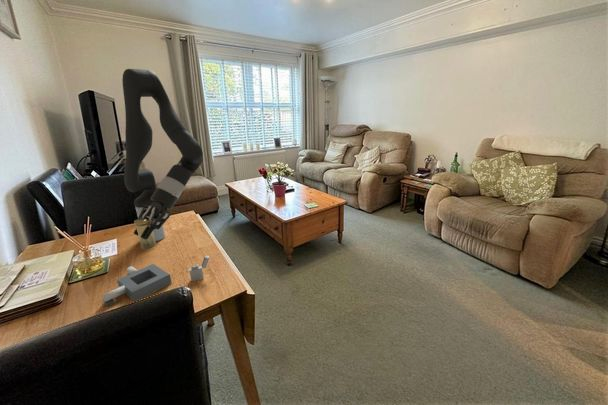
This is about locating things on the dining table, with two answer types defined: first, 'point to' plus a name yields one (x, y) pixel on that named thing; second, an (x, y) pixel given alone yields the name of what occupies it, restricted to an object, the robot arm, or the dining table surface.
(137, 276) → the shaft housing
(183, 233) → the dining table surface
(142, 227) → the gold cylindrical piece
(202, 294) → the dining table surface
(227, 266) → the dining table surface
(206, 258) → the lighter
